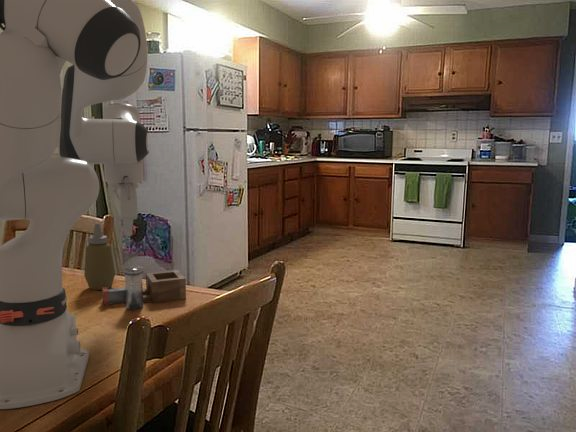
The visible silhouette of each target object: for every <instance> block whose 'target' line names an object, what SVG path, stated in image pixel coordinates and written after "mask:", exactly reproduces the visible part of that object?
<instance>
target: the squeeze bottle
mask: <svg viewBox="0 0 576 432" xmlns="http://www.w3.org/2000/svg"><path fill="white" fill-rule="evenodd" d="M88 241H89V243H88V244H87V245H86V247H85V257H84V278H85V280H86V284H87V285H88V288H89V289H90V290H92V291H93V290H94V291H102V288H103V287H107V288H108V289H111V288H112V286H113V284H114V280H115V277H116V268H115V260H114V256H113V255H114V254H113V248H112V244H110V243H108V236H107V235H104V234H103V230H102V226H101V222H100V223H95V224H94V229H93V235H91V236H89V237H88Z"/></svg>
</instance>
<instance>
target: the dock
mask: <svg viewBox="0 0 576 432" xmlns="http://www.w3.org/2000/svg"><path fill="white" fill-rule="evenodd" d="M186 280H187V279H186V277H185V276H184V275H183V274H182V273H181V272H180V270H178V269H174V270H173V269H172V270H165V271H164V270H163V271H154V272H146V273H145V289H143V304H144V303H152V304H155V303H164V302H170V301H176V300H185V299H187V287H186V286H187V285H186V284H187V283H186V282H187V281H186Z"/></svg>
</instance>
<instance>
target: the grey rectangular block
mask: <svg viewBox="0 0 576 432" xmlns="http://www.w3.org/2000/svg"><path fill="white" fill-rule="evenodd" d="M101 291H102V292H101V294H102V303H103V306H105V307H106V306H110V305H112V304H119V303H120V304H121V303H126V287H125V286H123V287H115V288H107V287H103V288H102V290H101Z"/></svg>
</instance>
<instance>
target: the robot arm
mask: <svg viewBox="0 0 576 432" xmlns="http://www.w3.org/2000/svg"><path fill="white" fill-rule="evenodd" d="M0 30H2V31H1V32H0V222H3V221H4V222H5V221H15V220H16V221H17V220H26V221H27V220H28V221H29V223H28V226H27V228H26V230H25V231H24V232H22V233H21V234H19V235H18V236H16V237H13V238H11V239H10V240H8V241H5V243H3V244H2V245H1V246H0V410H9V409H17V408H25V407H30V406H31V407H32V406H36V405H41V404H45V403H49V402H54V401H57V400H61V399H63V398H66V397H70V396H72V395H73V394H75V393H78V392H79V391H80V390H81V387H82V383H83V380H84V376H85V372H86V369H87V365H88V362H89V357H90V353H89V352H90V351H89V350H87V349H85V348H81V341H78V339H77V336H79V328H78V327H77V324H76V322H77V321H76V316H75V315H74V314H72V313H70V312H69V311H68V309H67V307H68V306H67V301H68V300H67V294H66V289H65V288H64V287H63V251H64V247H65V242H66V239H67V237H68V235H69V233H70V232H71V230H72V228H73V226H75V224H76V222H77V221H78V220H79V219H80V218H81V217H83V216H84V214H86V213H88V211H90V210H91V209H92V208H93V206H94V205H95V204H96V202H97V200H98V197H99V194H100V181H99V177H98V174H97V172H96V171H95V169H94V167H92V165H103V174H104V175H103V176H104V177H103V178H104V179H103V180H104V182H105V183H108V184H109V186H110V189H111V192H112V198H113V202H114V206H115V208H116V210H117V213H118V214H119V223H120V224H119V225H120V227H121V228H122V229H123V235H124V236H125V237H132V236H133V225H134V220H137V219H138V215H139V214H138V213H139V209H138V196H137V195H138V194H137V189H138V188H139V183H142V182H144V181H145V180H144V159H145V158H146V157H147V156H148V155H149V153H150V152H149V146H148V143H149V142H148V134H149V133H148V132H149V129H148V128H147V127H145V126H144V125H143V124H142V123H141V121H142V120H141V117H140V115H141V114H140V110H139V108H138V107H137V106H136V105H133V104H130V103H123V102H121V103H119V102H118V103H117V102H116V103H110V104H109V103H108V104H107V105H105V106H104V112H103V118H86V117H83V115H84V114H83V113H84V110H85V108H88V107H90V106H93V105H97V104H102V103H107V102H113V101H114V102H115V101H119V100H122V99H125V98H128V97H130V96H131V95H133V94H135V93H136V92H137V91H138V90H139V89H140V87H142V85H143V84H144V81H145V78H146V75H147V68H148V44H147V43H148V42H147V41H148V40H147V35H146V29H145V23H144V19H143V15H142V12H141V9H140V7H139V6H138V4H137V2H136V1H134V0H0ZM66 62H68V63H69V64H71V65H69V66H68V67H67V68H66V71H65V73H64V78H63V87H62V84H61V82H62V80H61V72H62V70H63V68H64V65H65V63H66ZM56 150H57V152H58V154H59V156H52V155H53V154H54V153H55V151H56Z"/></svg>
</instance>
